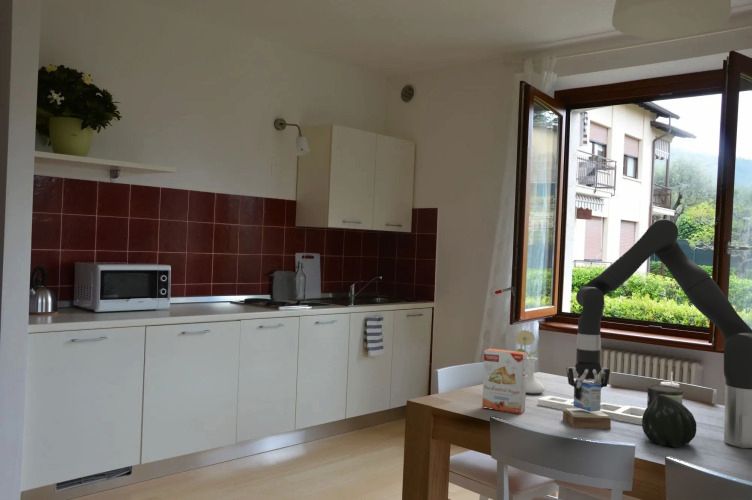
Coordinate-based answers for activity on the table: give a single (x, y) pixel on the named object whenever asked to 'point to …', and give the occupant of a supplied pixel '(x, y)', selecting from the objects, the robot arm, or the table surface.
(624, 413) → the holder
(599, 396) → the medicine box
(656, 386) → the coffee can
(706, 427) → the table surface
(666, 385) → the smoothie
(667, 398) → the squash
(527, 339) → the flower in vase
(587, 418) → the plinth
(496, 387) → the cracker box
